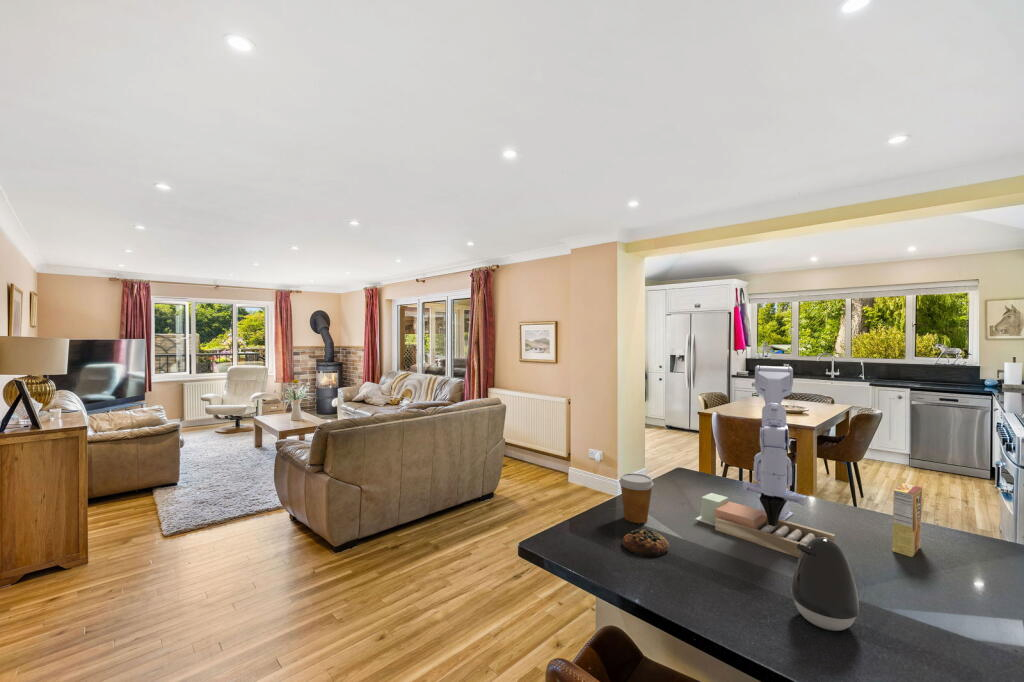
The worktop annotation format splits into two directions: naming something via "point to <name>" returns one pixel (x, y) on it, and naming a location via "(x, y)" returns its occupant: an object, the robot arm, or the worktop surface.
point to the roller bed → (775, 539)
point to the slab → (741, 514)
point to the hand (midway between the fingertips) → (773, 524)
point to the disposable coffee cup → (636, 496)
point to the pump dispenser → (825, 586)
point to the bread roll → (645, 543)
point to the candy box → (907, 519)
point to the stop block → (711, 505)
